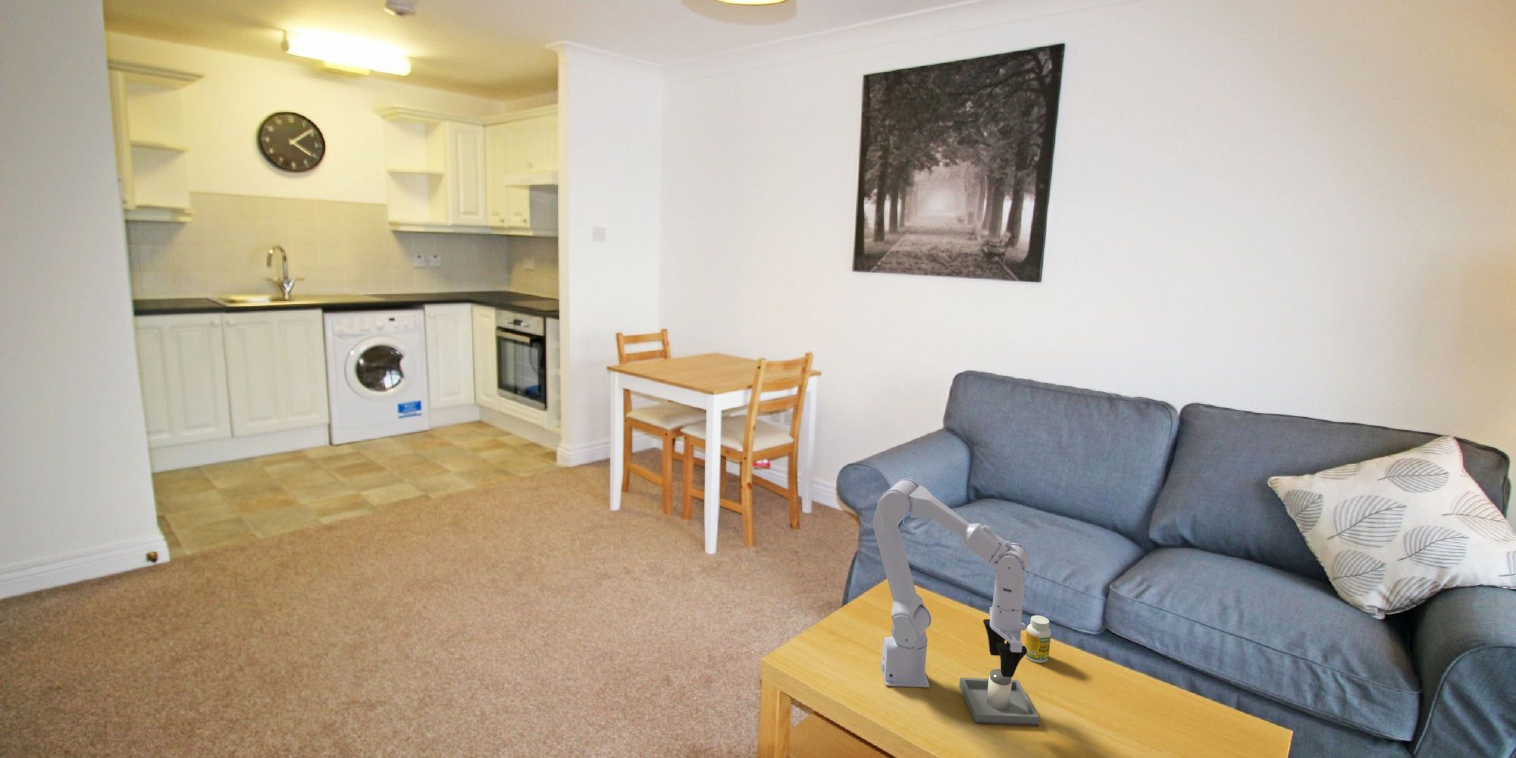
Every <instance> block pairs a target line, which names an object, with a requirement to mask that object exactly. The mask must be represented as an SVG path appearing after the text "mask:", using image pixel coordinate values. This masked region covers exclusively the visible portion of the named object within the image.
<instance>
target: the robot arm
mask: <svg viewBox="0 0 1516 758" xmlns="http://www.w3.org/2000/svg"><path fill="white" fill-rule="evenodd" d="M876 504H877V505H876V508H875V509H876V510H875V513H874V514H873V515H874V516H873V519H872V528H873V531H874V535H875V539H876V541H877V542H876V543H877V547H878V550H879V554H880V558H881V561H882V565H883V569H884V572H885V576H886V581H887V583H888V587H889V591H890V594H891V597H892V598H891V599H892V608H891V613H890V615H891V620H892V626H891V635H892V636H889V637H888V636H887V637H884V638H882V647H881V660H880V661H881V663H880V669H881V673H882V677H883V680H884V685H886V686H888V687H911V688H930V683H929V680H928V677H927V675H926V674H927V673H926V665H927V664H926V663H927V662H926V661H927V651H928V650H927V649H928V648H927V647H928V636H927V634H926V633H927V632H926V631H927V629H928V628H929V627H930V625H931V622H932V616H931V615H932V614H931V613H930V611H929V609H928V608H927V607H926V606H925V604H924V601H923V598H922V597H921V596H920V595H919V594H918V593H917V590H916V587H915V583H914V579H913V576H912V572H911V569H910V564H909V561H908V556H907V553H906V550H905V545H904V541H903V538H902V535H901V531H900V528H899V524H900V523H901V521H902V520H903V519H904V517H906V516H907V515H908V514H909V513H910V516H909V518H911V519H916V518H923V517H924V518H925V517H926V518H929V519H931V520H932V521H934V523H937V524H938V525H940V526H942V527H944V529H946V530H948V531H951V533H953V534H955V535H956V536H958V537H959V538H961V542H962V545H963V547H964V548H966V549H967V550H968V551H970V552H972V553H973V554H975V555H976V556H977V557H979V559H981V560H983V561H984V562H986V563H987V564H989V565H991V566H993V569H994V572H995V573H996V577H995V578H996V579H995V581H994V588H993V598H992V606H990V607H989V612H988V614H989V617H990V618H989V619H988V618H985V619H983V620H982V622H983V625H984V628H985V631H986V634H987V640H988V648H989V653H990V656H995V657H996V656H998V657H999V660H1000V669H1001V674H1002V676H1003V677H1012V678H1013V677H1014V676H1015V673H1016V670H1017V668H1018V665H1019V663H1020V662H1021V661H1022V659H1023V658H1024V657H1026V656H1025V655H1026V654H1027V649H1026V647H1025V645H1023V642H1022V638H1021V637H1022V631H1027V625H1026V624H1025V623H1024V622H1022V615H1023V605H1024V598H1025V597H1024V596H1025V588H1026V587H1025V586H1026V585H1025V582H1026V570H1027V568H1028V565H1029V563H1030V556H1029V554H1028V551H1027V550H1026V549H1025V548H1024V547H1023V546H1022V544H1020V543H1018V542H1017V543H1016V542H1011V541H1010V540H1008V539H1007V540H1005V539H1004V538H1002V537H1000V536H999V535H998V534H997V533H995V532H993V531H992V530H991V528H992V527H991V526H989V525H987V524H984V525H983V524H981V523H979V522H977V523H976V522H975V523H970V522H968V521H967V520H966V519H965V518H963V517H962V516H960V515H959V514H958V513H956V512H955V511H954V510H952V508H950V507H948V506H947V505H946V504H945V503H943V502H942V501H940V500H939V499H938V498H937V497H935V496H934V494H932V493H931V492H930V491H929V490H928V489H927V488H926V487H925V486H922V485H919V484H918V482H916V481H915V480H913V479H911V478H902V479H899V480H898V481H896V482H895V484H894V485H892V487H891V488H888V489H887V490H886V491H884V492H883V494H882V495H881V496H880V498H879V499H878V500H877V501H876Z"/></svg>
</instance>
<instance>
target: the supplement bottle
mask: <svg viewBox="0 0 1516 758" xmlns="http://www.w3.org/2000/svg"><path fill="white" fill-rule="evenodd" d="M1029 622H1030V623H1029V624H1028V625H1027V626H1026V630H1025V632H1026V634H1025V643H1024V646H1025V647H1026V649H1027V654H1026V655H1025V656H1024V657H1025V658H1026V659H1027V660H1029V661H1032V662H1034V663H1040V664H1043V663H1045V662H1046V663H1047V662H1048V660H1049V654H1050V647H1051V646H1050V645H1051V639H1052V631H1051V629H1050V620H1049V618H1047V617H1045V616H1042V615H1039V614H1037V615H1031V617H1030V621H1029Z"/></svg>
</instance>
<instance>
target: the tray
mask: <svg viewBox="0 0 1516 758" xmlns="http://www.w3.org/2000/svg"><path fill="white" fill-rule="evenodd" d="M1011 680H1012V685H1011V694H1010V703H1009V707H1008V708H1007V709H1005V710H998V709H995V708H993V707H991V706H990V705H988V703H987V692H988V682H989V678H983V677H982V678H981V677H979V678H977V677H976V678H975V677H959V685H958V686H959V689H960V691H961V694H962V695H963V697H964V700H965V703H966V705H967V707H968V710H969V712H970V714H971V716H972V719H973V721H974V724H977V725H1001V726H1003V725H1004V726H1005V725H1006V726H1029V727H1031V726H1032V727H1039V725H1040V716H1039V713H1038V712H1037V710H1036V708H1035V707H1034V705H1033V704H1032V701H1031V700H1030V698H1029V696H1028V695H1027V692H1026V691H1025V689H1024V688H1023V686H1022V684H1021V682H1020V681H1019V679H1011Z"/></svg>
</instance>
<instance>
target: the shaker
mask: <svg viewBox="0 0 1516 758" xmlns="http://www.w3.org/2000/svg"><path fill="white" fill-rule="evenodd" d="M988 679H989V682H988V692H987V703H988V705H990V706H991V707H993V708H995V709H998V710H1005V709H1007V708H1008V707H1009V703H1010V694H1011V685H1012V680H1013V677H1003V676H1002V674H1001V668H994V669H991V670H990V673H989V675H988Z"/></svg>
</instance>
